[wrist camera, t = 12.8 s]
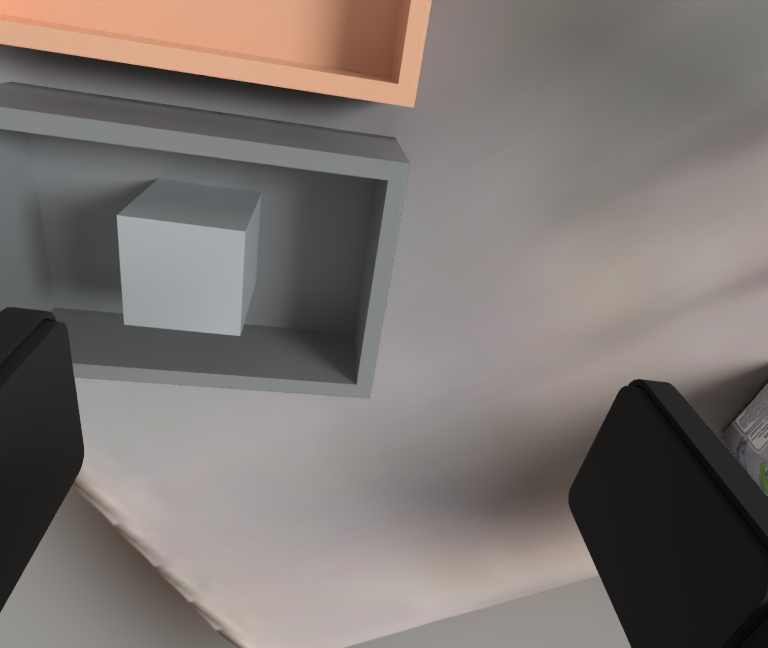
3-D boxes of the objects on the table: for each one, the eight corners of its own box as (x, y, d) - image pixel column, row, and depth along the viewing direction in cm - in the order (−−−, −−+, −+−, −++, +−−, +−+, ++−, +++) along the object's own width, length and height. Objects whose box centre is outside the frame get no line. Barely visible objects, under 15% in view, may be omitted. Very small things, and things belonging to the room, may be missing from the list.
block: (158, 178, 27) (116, 215, 21) (261, 192, 27) (245, 231, 22) (161, 270, 29) (124, 324, 24) (256, 281, 30) (240, 336, 24)
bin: (11, 82, 25) (-75, 96, 20) (394, 137, 27) (410, 163, 22) (47, 312, 30) (-12, 371, 25) (363, 339, 33) (370, 398, 28)
